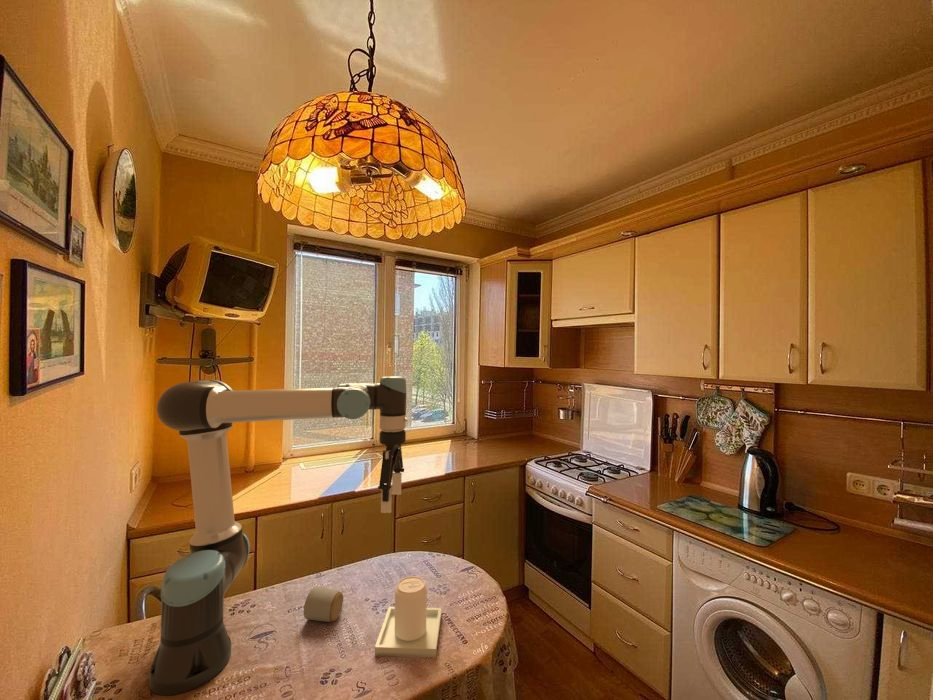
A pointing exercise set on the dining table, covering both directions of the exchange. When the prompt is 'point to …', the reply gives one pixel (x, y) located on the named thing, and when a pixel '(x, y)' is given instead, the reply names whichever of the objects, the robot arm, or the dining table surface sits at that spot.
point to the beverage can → (410, 608)
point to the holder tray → (416, 648)
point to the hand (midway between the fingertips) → (391, 502)
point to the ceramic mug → (323, 604)
